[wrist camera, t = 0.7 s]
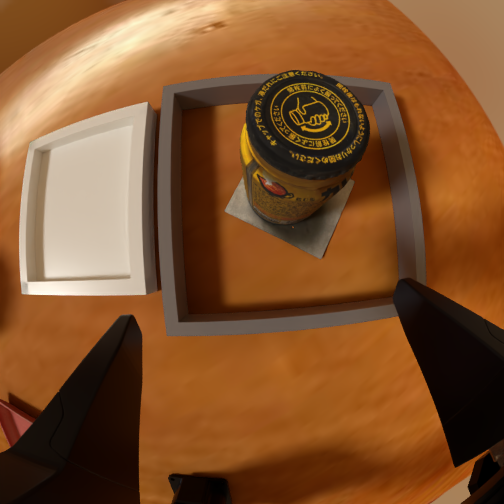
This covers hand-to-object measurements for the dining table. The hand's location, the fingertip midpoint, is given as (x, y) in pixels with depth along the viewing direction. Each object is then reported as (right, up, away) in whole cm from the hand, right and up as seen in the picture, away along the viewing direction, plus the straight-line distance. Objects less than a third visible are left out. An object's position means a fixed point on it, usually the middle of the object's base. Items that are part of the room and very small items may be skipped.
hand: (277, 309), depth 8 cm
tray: (-17, +6, +13) cm, 22 cm away
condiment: (+2, +6, +13) cm, 15 cm away
